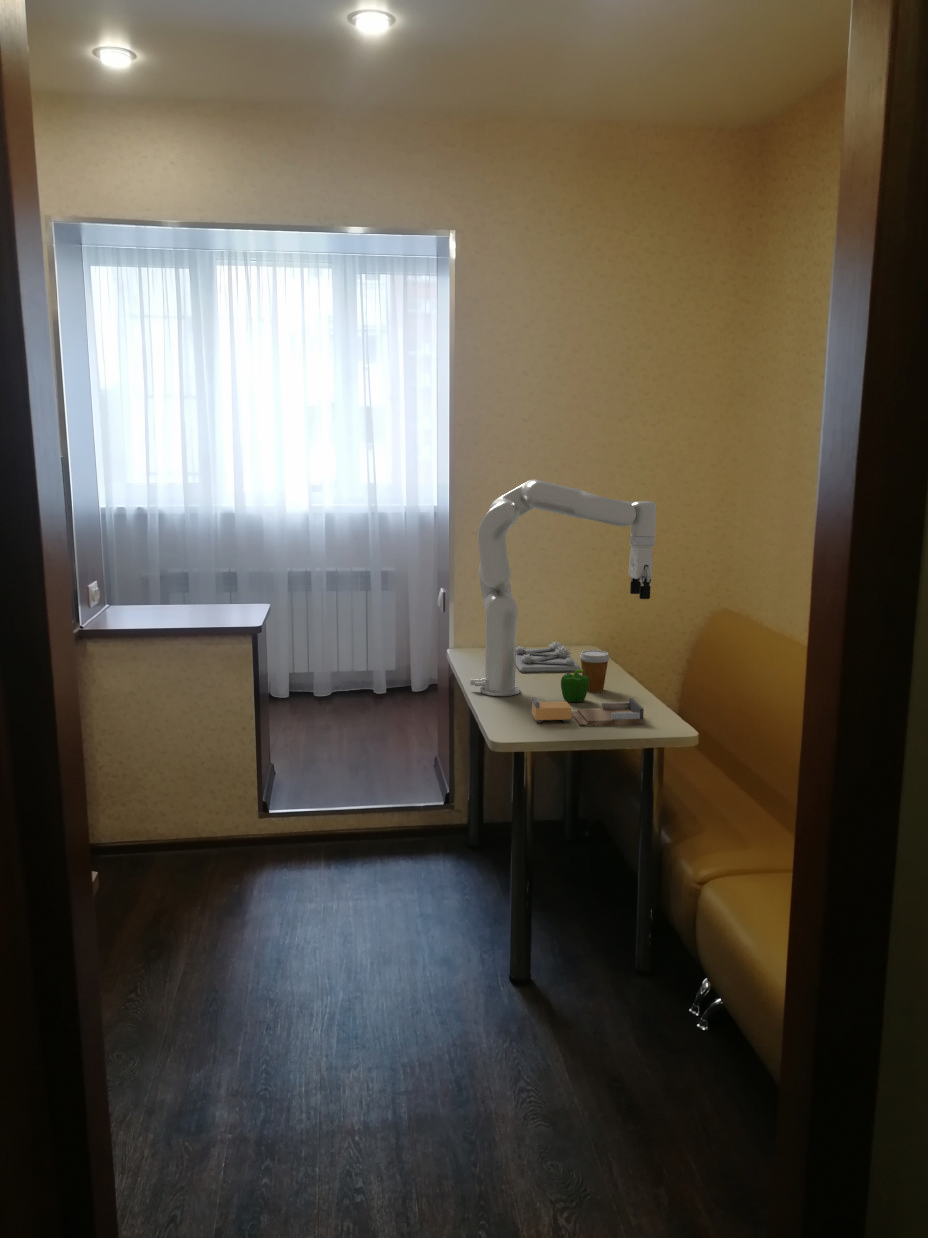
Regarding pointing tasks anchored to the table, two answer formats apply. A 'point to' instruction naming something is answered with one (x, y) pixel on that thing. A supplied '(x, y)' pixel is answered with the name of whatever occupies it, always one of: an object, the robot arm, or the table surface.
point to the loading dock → (611, 714)
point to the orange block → (550, 710)
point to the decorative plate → (545, 659)
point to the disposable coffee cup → (594, 668)
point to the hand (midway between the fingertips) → (639, 596)
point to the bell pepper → (574, 686)
